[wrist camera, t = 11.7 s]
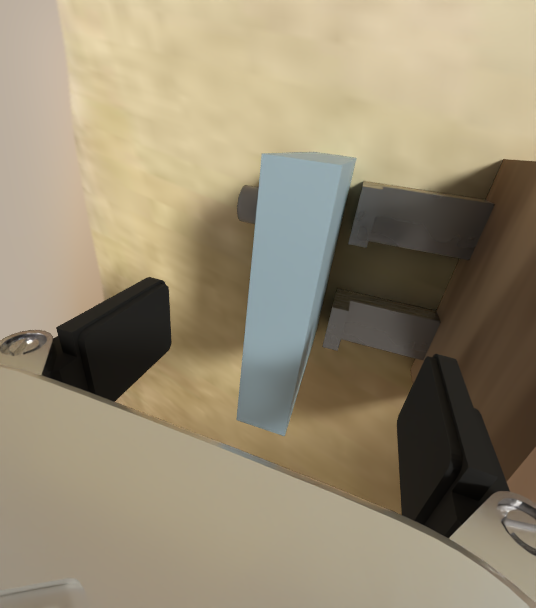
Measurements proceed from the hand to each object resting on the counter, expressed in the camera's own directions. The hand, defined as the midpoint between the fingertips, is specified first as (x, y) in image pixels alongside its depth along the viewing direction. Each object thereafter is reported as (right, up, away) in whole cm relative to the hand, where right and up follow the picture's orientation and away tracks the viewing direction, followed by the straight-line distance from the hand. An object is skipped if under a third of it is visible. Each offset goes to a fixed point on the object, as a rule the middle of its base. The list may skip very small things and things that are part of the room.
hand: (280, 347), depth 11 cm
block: (+3, +5, +10) cm, 11 cm away
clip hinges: (+5, +4, +9) cm, 11 cm away
